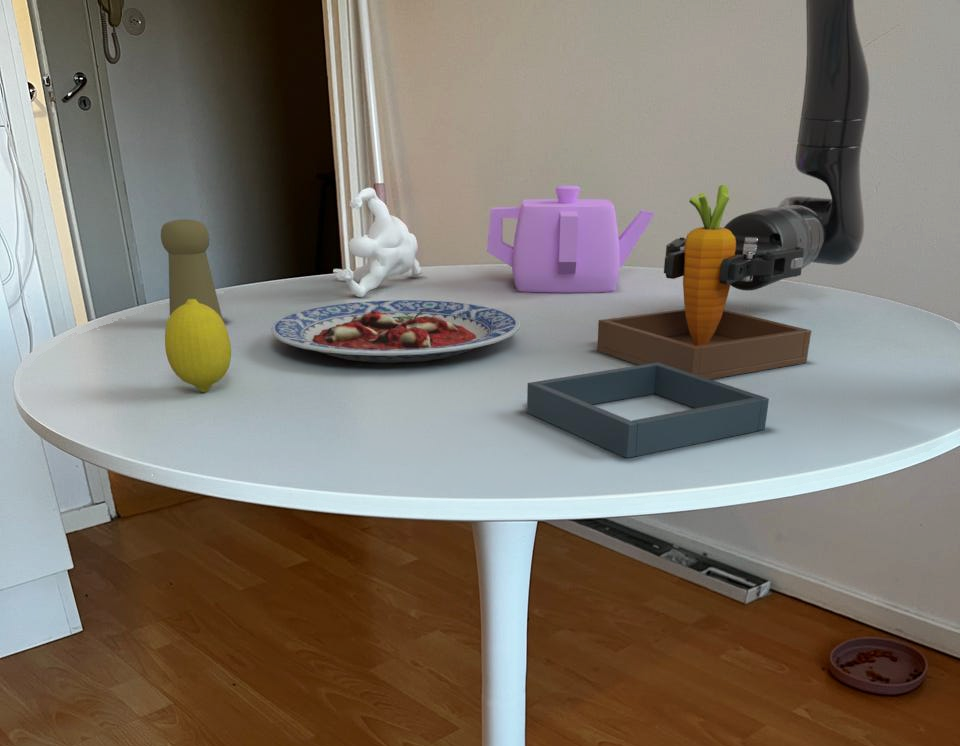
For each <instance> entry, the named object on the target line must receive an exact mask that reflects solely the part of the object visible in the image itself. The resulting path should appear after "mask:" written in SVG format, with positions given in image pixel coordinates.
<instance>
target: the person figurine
mask: <svg viewBox="0 0 960 746" xmlns="http://www.w3.org/2000/svg"><path fill="white" fill-rule="evenodd" d="M363 202H367V207H368V209H369V210H370V212H371V213H372V214H373V215H374V216H375V217H374V221H373V222H372V225H371V226H370V228H369V229H368V232H367V233H368V234H364V235H362V236H355V237H352V238H351V239H350V240H349V241H348V245H347V246H348V251H349V253H350V254H352V255H353V256H354V257H358V258H361V259H364V260H367V263H365V264H363V265H361V266H359V267H355V269H354V271H353V270H352V269H350V268H348V269H346V268H344V269H342V268H333V270H332V272H333V276H334V277H335V278H336V279H337V281H342V282H346V284H347V286H348V288H349V290H350V292H351V293H352V294H354V295H355V296H356V297H359V298H364V297H365V296H366V294H367V293H368V292H369V291H371V290H374V289H377V288H378V287H379V286H380V284H381V282H382V281H383V280H387V279H389V278H392V277H395V276H397V275H403V274H405V273H408V272H409V271H410V270H411V278H415V277H418V276H420V275H423V271H422V269H421V267H420V262H419V261H418V260H417V259H416V255H417V253H418V249H419V245H418V241H417V237H416V236H415V235H414V233H411V232H410V231H409V229H408V226H407V225H406V223H404V222H403V221H402V220H401V219H400V218H399V217H397V216H395V215H392V214H390V211H389V208H388V206H387V205H386V203H385V202H384V201H382V200H381V199H380V198H379V197H378V195H377V192H376V190H375V189H374V188H373V187H366V188H364V189H362V190H361V191H360V192H359V193H357V195H356V196H355V197H353V198H350V201H349V206H350V207H351V208H352V209H356V210H359V209H360V208H361V207H362V205H363Z"/></svg>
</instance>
